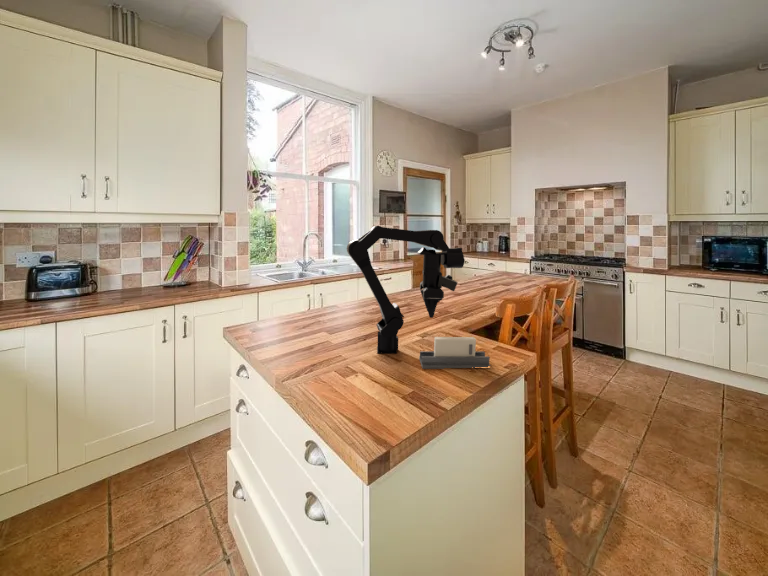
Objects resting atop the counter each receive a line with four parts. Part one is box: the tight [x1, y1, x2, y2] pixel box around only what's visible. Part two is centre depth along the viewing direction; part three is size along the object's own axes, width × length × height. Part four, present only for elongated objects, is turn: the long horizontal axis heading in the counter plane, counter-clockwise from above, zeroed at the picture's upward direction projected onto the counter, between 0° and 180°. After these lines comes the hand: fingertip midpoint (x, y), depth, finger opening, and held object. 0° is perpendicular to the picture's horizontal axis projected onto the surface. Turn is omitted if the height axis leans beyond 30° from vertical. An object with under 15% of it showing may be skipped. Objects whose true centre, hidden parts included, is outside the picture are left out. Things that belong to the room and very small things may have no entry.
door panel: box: [433, 336, 477, 356], centre depth 107 cm, size 12×3×7 cm, turn 91°
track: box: [419, 350, 492, 370], centre depth 108 cm, size 20×8×3 cm, turn 91°
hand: (430, 314), depth 121 cm, fingers open, 9 cm apart
